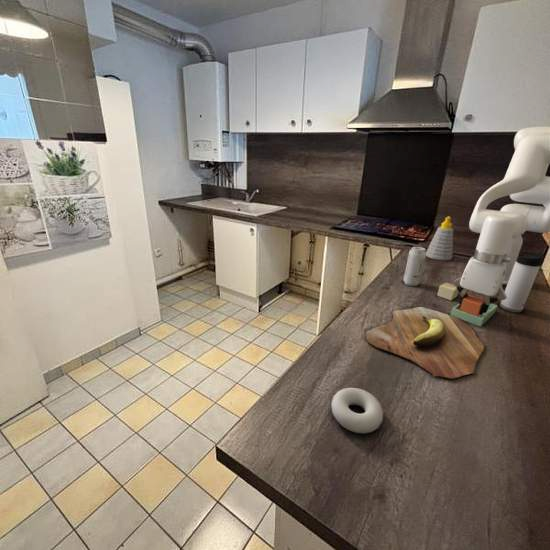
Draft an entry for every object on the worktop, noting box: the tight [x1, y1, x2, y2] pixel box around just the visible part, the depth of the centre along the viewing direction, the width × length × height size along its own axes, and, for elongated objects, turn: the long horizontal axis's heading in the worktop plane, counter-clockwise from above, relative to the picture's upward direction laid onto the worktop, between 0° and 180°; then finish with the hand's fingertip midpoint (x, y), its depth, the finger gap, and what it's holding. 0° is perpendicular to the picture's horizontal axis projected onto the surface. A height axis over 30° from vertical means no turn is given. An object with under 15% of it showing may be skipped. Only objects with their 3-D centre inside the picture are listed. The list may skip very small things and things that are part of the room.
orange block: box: [460, 294, 485, 316], centre depth 93 cm, size 6×5×4 cm
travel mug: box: [499, 252, 546, 313], centre depth 97 cm, size 6×7×20 cm
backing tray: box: [450, 303, 498, 327], centre depth 96 cm, size 14×9×3 cm, turn 130°
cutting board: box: [365, 306, 485, 380], centre depth 84 cm, size 35×27×4 cm
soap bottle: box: [425, 215, 454, 262], centre depth 147 cm, size 12×12×20 cm
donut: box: [330, 387, 384, 434], centre depth 58 cm, size 10×4×10 cm
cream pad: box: [436, 282, 459, 301], centre depth 108 cm, size 6×5×4 cm
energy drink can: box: [403, 246, 427, 287], centre depth 116 cm, size 6×6×15 cm
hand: (471, 309), depth 94 cm, fingers closed on orange block, 5 cm apart
